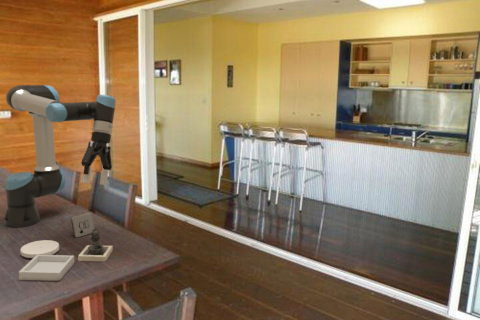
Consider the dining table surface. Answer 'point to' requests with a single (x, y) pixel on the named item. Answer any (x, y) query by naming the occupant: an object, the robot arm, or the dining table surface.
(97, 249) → the chess piece
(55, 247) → the cream gear
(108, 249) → the socket collar
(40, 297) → the dining table surface
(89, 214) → the electrical switch
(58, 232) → the dining table surface
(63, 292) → the dining table surface
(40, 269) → the parts tray
